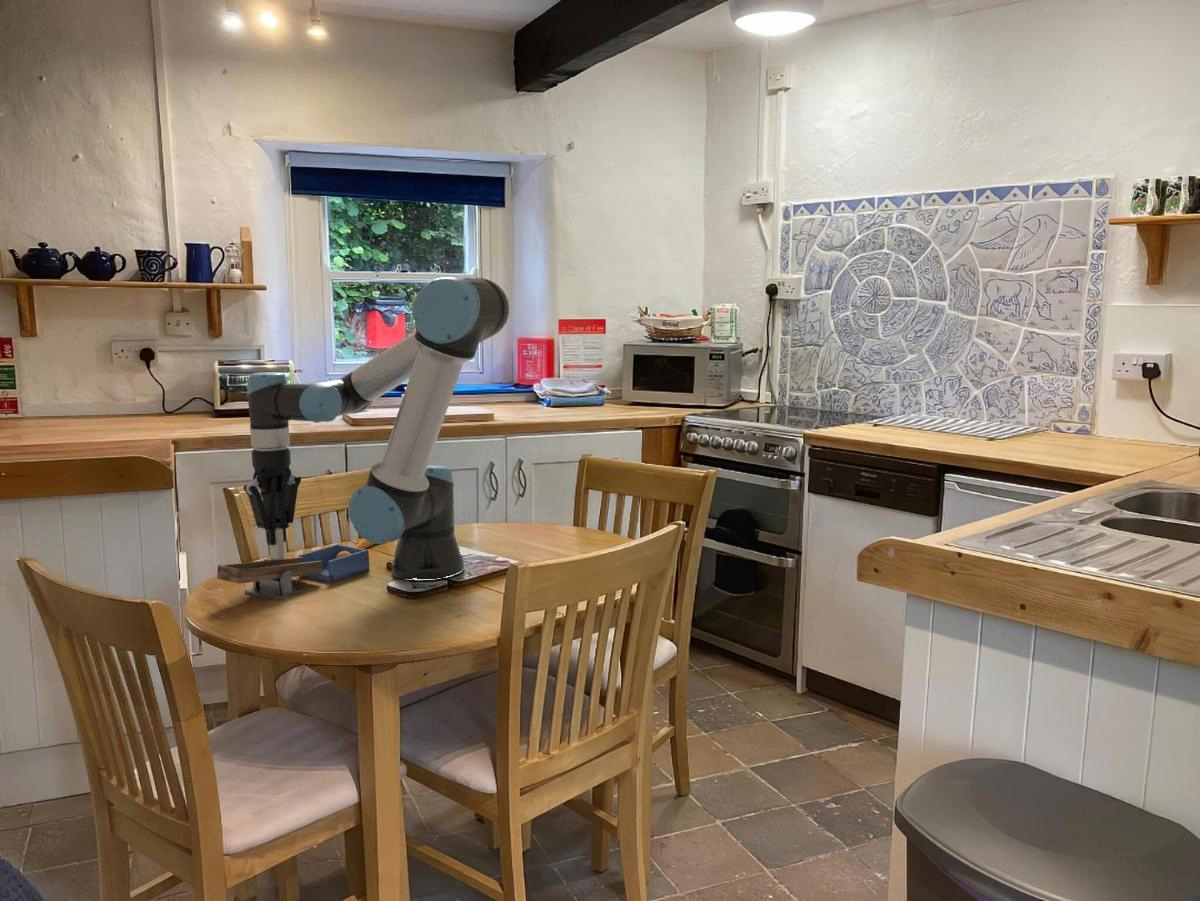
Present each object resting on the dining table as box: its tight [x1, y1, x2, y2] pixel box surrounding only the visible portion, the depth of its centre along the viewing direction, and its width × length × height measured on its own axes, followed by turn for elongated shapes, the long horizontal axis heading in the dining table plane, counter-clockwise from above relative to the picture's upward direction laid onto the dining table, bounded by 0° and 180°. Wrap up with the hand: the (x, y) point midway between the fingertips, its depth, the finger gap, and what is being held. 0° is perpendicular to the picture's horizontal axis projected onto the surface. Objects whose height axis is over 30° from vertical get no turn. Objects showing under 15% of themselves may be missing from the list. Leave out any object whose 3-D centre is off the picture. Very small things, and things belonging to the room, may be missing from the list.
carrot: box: [355, 538, 377, 549], centre depth 225 cm, size 20×4×4 cm, turn 163°
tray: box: [298, 543, 370, 584], centre depth 201 cm, size 10×11×4 cm
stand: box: [243, 571, 302, 602], centre depth 188 cm, size 10×6×5 cm, turn 57°
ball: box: [336, 551, 350, 559], centre depth 203 cm, size 4×4×4 cm
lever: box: [216, 556, 323, 584], centre depth 189 cm, size 14×20×2 cm
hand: (277, 558), depth 198 cm, fingers closed
